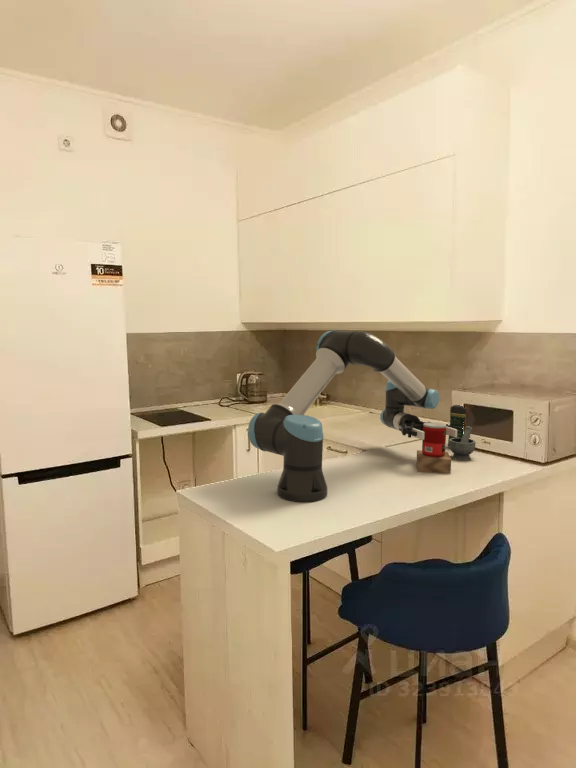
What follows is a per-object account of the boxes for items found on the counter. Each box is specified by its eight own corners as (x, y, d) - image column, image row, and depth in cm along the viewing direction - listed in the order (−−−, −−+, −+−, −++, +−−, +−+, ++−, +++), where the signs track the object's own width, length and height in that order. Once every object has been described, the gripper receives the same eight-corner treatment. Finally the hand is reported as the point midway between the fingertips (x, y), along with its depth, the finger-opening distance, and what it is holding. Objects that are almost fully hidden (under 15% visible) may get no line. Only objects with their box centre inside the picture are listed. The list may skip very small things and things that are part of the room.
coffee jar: (464, 451, 220) (466, 406, 218) (445, 448, 225) (447, 404, 223) (472, 447, 228) (475, 403, 225) (454, 444, 233) (456, 401, 230)
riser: (418, 471, 190) (418, 457, 189) (416, 463, 200) (416, 450, 200) (450, 473, 188) (451, 459, 187) (447, 465, 198) (447, 451, 198)
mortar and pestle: (466, 462, 203) (468, 431, 201) (443, 457, 209) (445, 427, 208) (480, 457, 211) (481, 427, 209) (457, 452, 217) (459, 423, 216)
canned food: (447, 457, 190) (449, 426, 188) (424, 457, 190) (426, 426, 188) (441, 452, 197) (443, 422, 196) (419, 451, 197) (421, 422, 196)
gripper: (434, 431, 214) (468, 442, 194) (378, 434, 206) (408, 447, 186) (435, 412, 213) (470, 422, 193) (379, 415, 205) (409, 426, 185)
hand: (440, 434), depth 189 cm, fingers open, 13 cm apart
